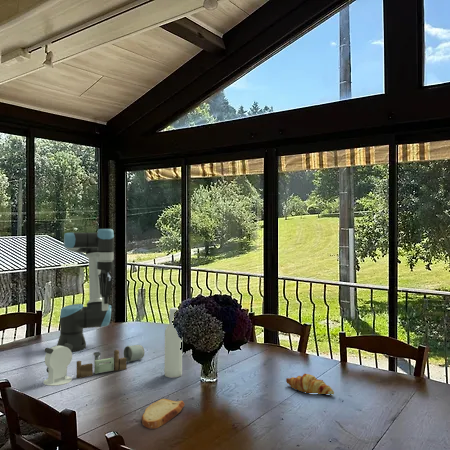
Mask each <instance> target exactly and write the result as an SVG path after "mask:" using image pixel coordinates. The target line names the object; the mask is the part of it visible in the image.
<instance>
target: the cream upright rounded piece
mask: <svg viewBox="0 0 450 450" xmlns="http://www.w3.org/2000/svg"><path fill="white" fill-rule="evenodd" d="M72 349H73V346H72V345H71V344H68V343H65V344H64V346H57V345H55V346H52V347H50V348H49V347H45V348H44V353H45V356H44V364H45V366H46V368H45V369H46V372H47V374H48V375H47V378H46V379H44V380H43V384H44V385H46V386H49V387H50V386H51V387H58V386H62V385H67V384H69V383H71V382H72V381H73V379H72V377H71V376H68V366H69V365H70V364H71V363H72V360H73V352H71V350H72Z"/></svg>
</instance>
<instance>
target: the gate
mask: <svg viewBox="0 0 450 450" xmlns="http://www.w3.org/2000/svg"><path fill="white" fill-rule="evenodd" d="M93 365H94V366H93V369H94V371H93V374H95V375H96V374H99V373H104V372H111V371H114V356H112V357H109V358H102V359H99V360H95V359H94V364H93Z"/></svg>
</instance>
